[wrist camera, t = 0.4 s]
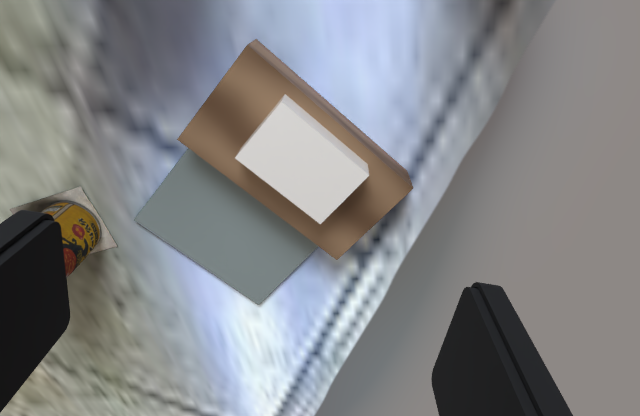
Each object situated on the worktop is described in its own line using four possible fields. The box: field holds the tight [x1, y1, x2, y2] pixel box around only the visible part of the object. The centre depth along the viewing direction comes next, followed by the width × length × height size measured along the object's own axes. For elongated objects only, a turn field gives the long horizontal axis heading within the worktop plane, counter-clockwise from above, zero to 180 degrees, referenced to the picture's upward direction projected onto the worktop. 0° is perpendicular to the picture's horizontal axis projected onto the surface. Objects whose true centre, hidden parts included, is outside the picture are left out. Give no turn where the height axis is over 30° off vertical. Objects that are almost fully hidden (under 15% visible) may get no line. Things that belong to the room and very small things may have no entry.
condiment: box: [10, 187, 117, 278], centre depth 42 cm, size 7×8×12 cm
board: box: [177, 39, 413, 260], centre depth 40 cm, size 10×18×4 cm, turn 49°
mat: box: [134, 148, 318, 305], centre depth 46 cm, size 12×16×1 cm
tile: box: [235, 94, 369, 224], centre depth 37 cm, size 6×9×2 cm, turn 49°
